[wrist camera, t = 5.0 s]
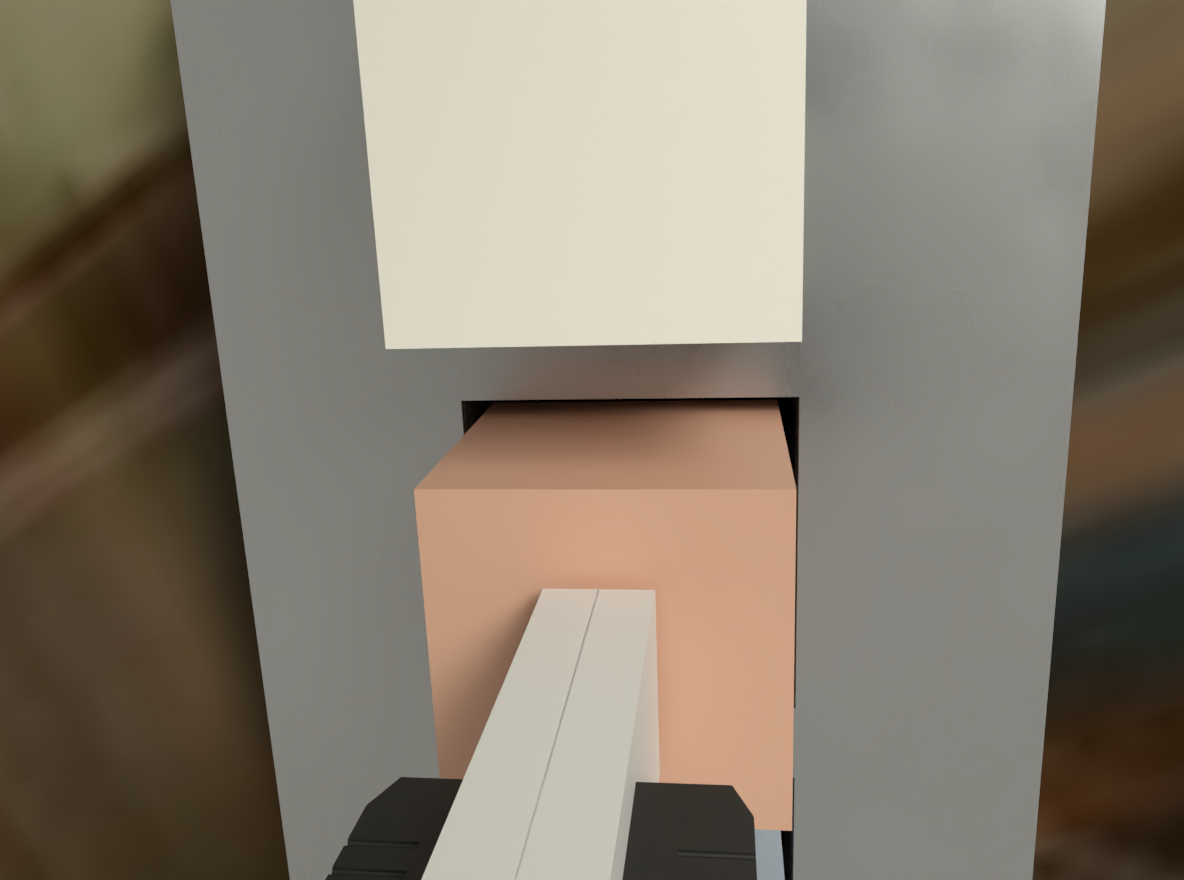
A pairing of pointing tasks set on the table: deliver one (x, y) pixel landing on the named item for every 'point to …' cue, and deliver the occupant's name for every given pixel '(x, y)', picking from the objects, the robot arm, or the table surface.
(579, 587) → the terracotta key
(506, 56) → the cream cube
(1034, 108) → the grey slotted board
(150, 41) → the table surface
